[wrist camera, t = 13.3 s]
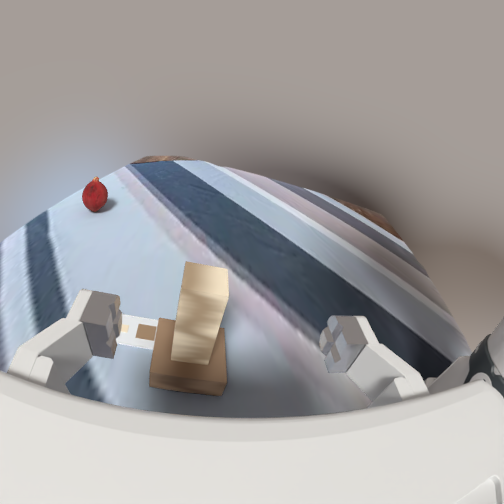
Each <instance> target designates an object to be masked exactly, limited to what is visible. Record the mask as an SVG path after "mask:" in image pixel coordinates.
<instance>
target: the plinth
mask: <svg viewBox="0 0 504 504" xmlns="http://www.w3.org/2000/svg"><path fill="white" fill-rule="evenodd" d="M175 322H176V321H175V320H169V319H164V318H159V320H158V326H157V331H156V337H155V342H154V348H153V354H152V360H151V367H150V381H149V387H155V388H161V389H167V390H174V391H181V392H188V393H196V394H205V395H215V396H222V393H223V391H224V389H225V386H226V384H227V373H226V355H225V335H224V328H219V330H218V334H217V337H216V340H215V344H214V347H213V350H212V353H211V357H210V360H209V363H208V365H202V364H195V363H188V362H181V361H175V360H171V353H172V344H173V336H174V328H175Z"/></svg>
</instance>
